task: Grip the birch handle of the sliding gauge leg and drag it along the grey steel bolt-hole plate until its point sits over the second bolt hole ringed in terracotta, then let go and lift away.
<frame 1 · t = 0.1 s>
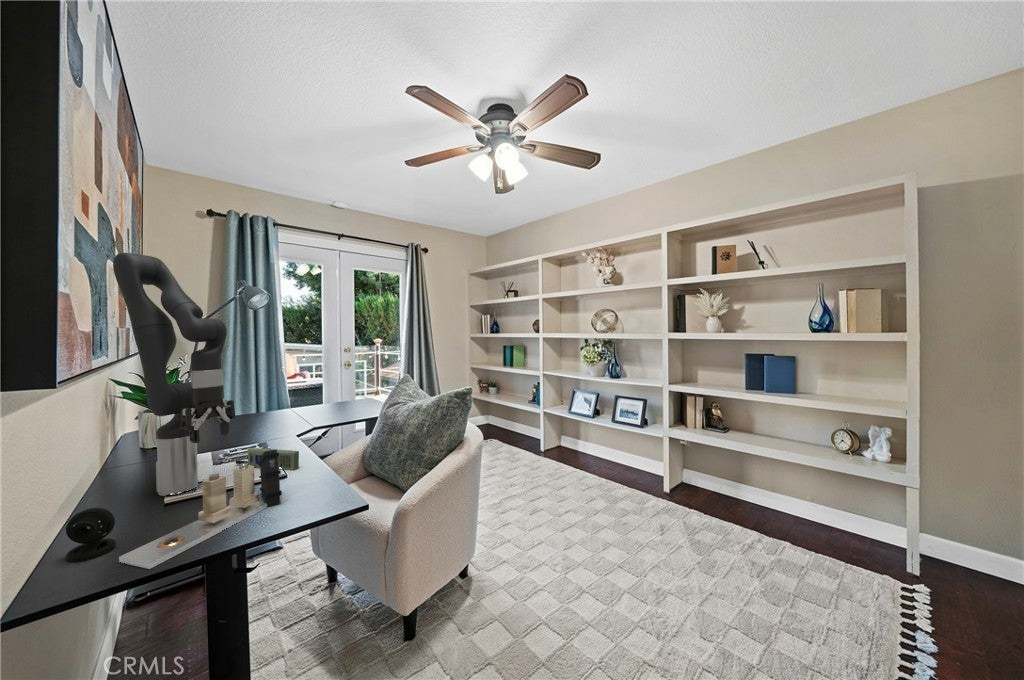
hand: (210, 438, 113), 17 cm above the table, tool pointing down, fingers open, 8 cm apart
bolt-hole plate: (203, 531, 93), on the table
black boxy piece: (269, 498, 112), on the table
webcam: (91, 553, 85), on the table
handheld radio: (266, 468, 136), on the table
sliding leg: (214, 497, 96), point 7 cm above the table, slide at 0.0 cm
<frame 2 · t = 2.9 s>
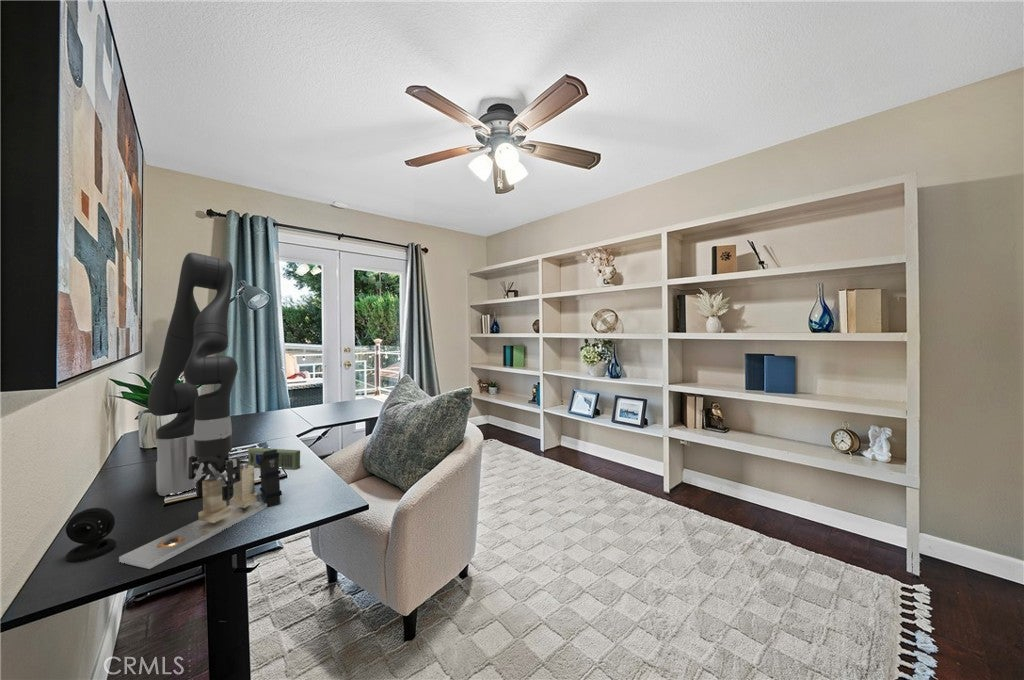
hand: (214, 497, 96), 7 cm above the table, tool pointing down, fingers open, 8 cm apart
nothing on the table moved.
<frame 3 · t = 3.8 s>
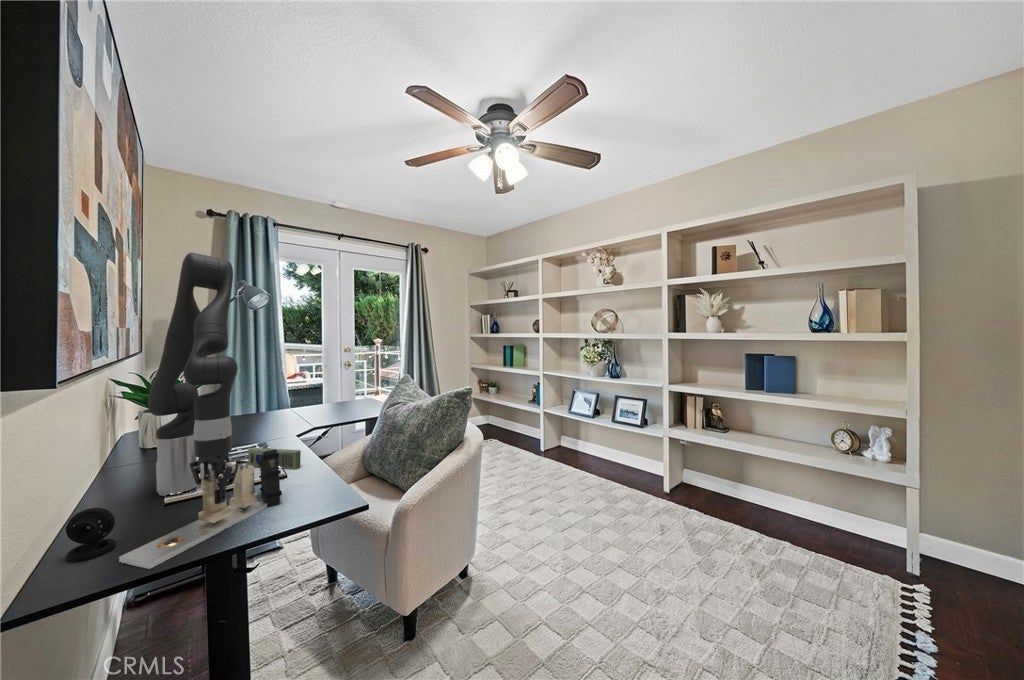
hand: (214, 501, 96), 6 cm above the table, tool pointing down, fingers closed on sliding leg, 3 cm apart
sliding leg: (214, 497, 96), point 7 cm above the table, slide at 0.0 cm, touching gripper
everything else where it was.
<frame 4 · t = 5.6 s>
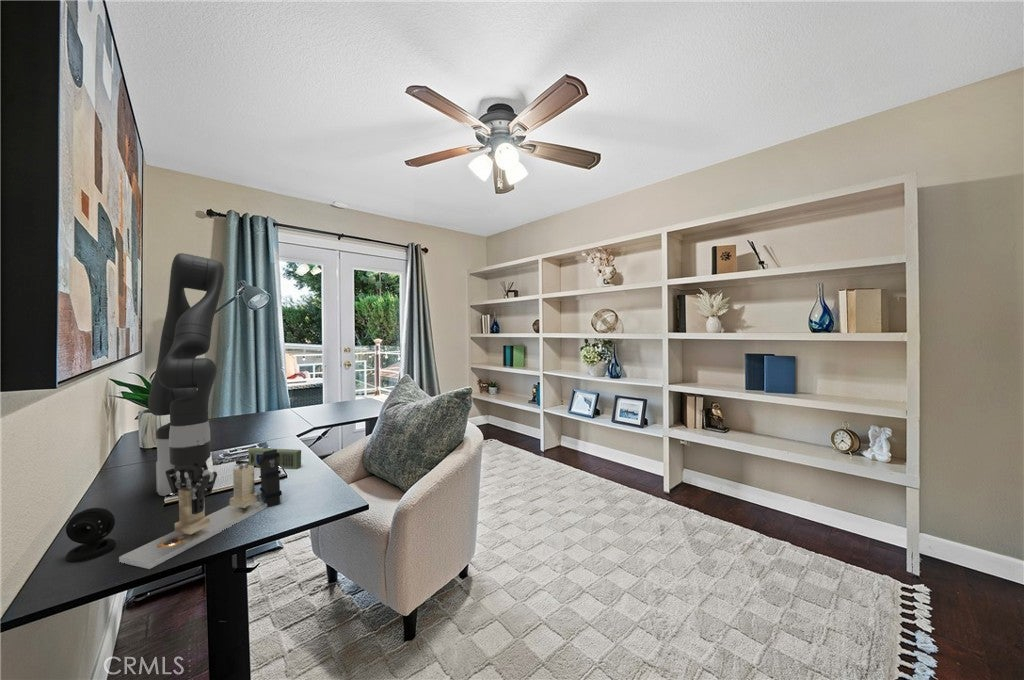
hand: (192, 511, 91), 6 cm above the table, tool pointing down, fingers closed on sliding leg, 3 cm apart
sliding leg: (192, 506, 91), point 7 cm above the table, slide at 5.4 cm, touching gripper
everything else where it was.
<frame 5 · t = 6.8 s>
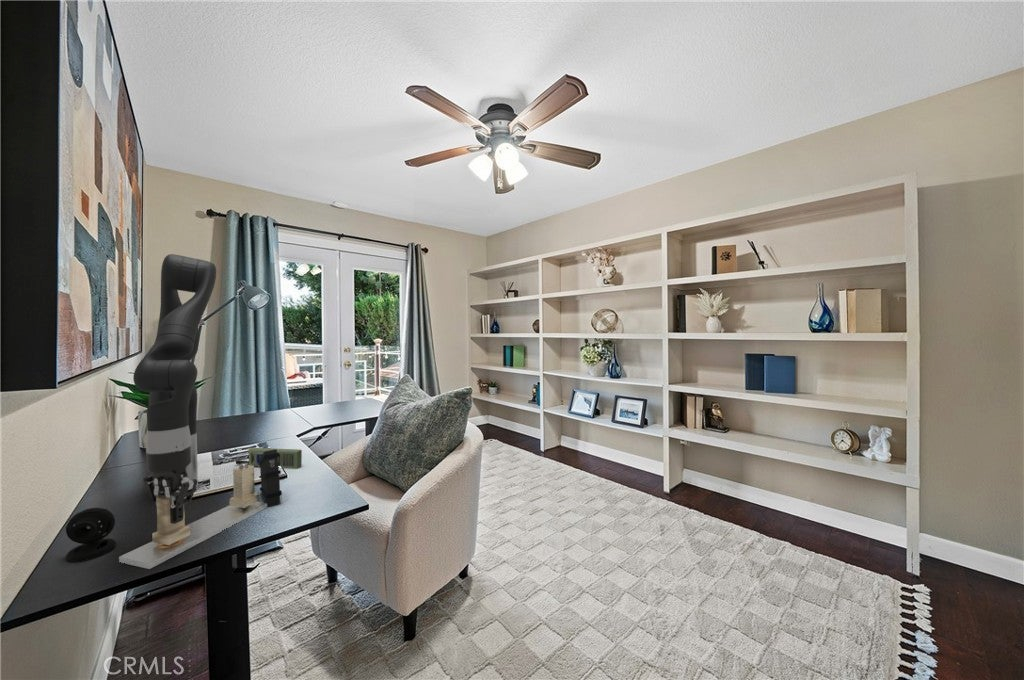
hand: (171, 520, 87), 6 cm above the table, tool pointing down, fingers closed on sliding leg, 3 cm apart
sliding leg: (171, 515, 86), point 7 cm above the table, slide at 9.9 cm, touching gripper
everything else where it was.
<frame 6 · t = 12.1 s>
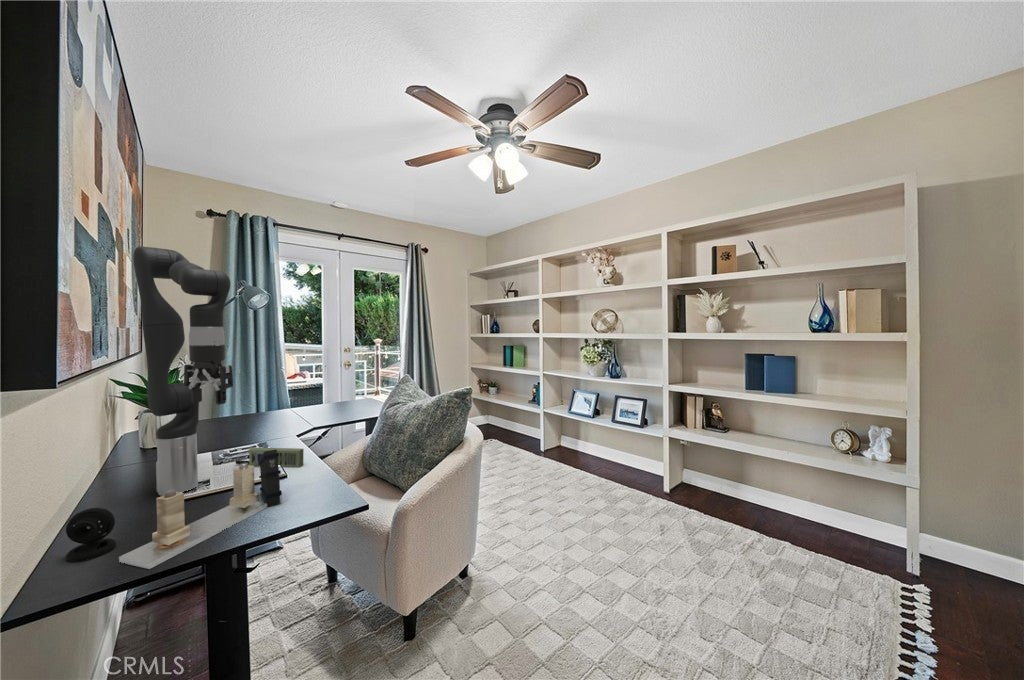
hand: (208, 403, 102), 30 cm above the table, tool pointing down, fingers open, 8 cm apart
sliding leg: (170, 515, 86), point 7 cm above the table, slide at 9.9 cm
at the end: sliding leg slide at 9.9 cm; the gripper is holding nothing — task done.
